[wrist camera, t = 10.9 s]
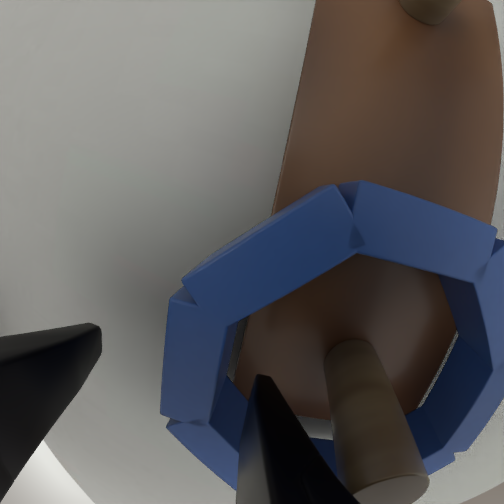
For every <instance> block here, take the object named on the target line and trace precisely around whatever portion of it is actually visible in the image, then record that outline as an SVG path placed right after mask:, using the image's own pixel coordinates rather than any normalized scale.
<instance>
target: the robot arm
mask: <svg viewBox="0 0 504 504" xmlns="http://www.w3.org/2000/svg"><path fill="white" fill-rule="evenodd" d="M101 353H102V332H101V328H100V327H99V326H97V325H94V324H92V323H84V324H78V325H73V326H67V327H61V328H55V329H49V330H43V331H36V332H30V333H24V334H17V335H10V336H3V337H0V502H1V501H2V499H3V498H4V496H5V494H6V493H7V491H8V490H9V488H10V487H11V485H12V484H13V482H14V480H15V479H16V478H17V476H18V475H19V473H20V471H21V470H22V468H23V467H24V466H25V464H26V463H27V461H28V460H29V458H30V457H31V456H32V454H33V453H34V451H35V450H36V448H37V447H38V446H39V444H40V443H41V441H42V440H43V439H44V437H45V436H46V435H47V433H48V432H49V430H50V429H51V428H52V426H53V425H54V424H55V422H56V421H57V419H58V418H59V417H60V415H61V414H62V413H63V411H64V410H65V409H66V407H67V406H68V405H69V403H70V402H71V401H72V400H73V398H74V397H75V396H76V394H77V393H78V392H79V390H80V389H81V387H82V386H83V384H84V382H85V381H86V379H87V377H88V375H89V374H90V372H91V370H92V369H93V367H94V366H95V364H96V362H97V361H98V359H99V357H100V355H101ZM319 454H320V453H319V451H318V450H317V448H316V447H315V445H314V444H313V442H312V441H311V439H310V438H309V436H308V435H307V433H306V431H305V430H304V428H303V427H302V425H301V424H300V422H299V421H298V419H297V417H296V416H295V414H294V413H293V411H292V410H291V408H290V406H289V405H288V403H287V402H286V400H285V398H284V397H283V395H282V394H281V392H280V390H279V389H278V387H277V385H276V384H275V382H274V381H273V379H272V377H270V376H267V375H262V374H257V375H256V377H255V380H254V384H253V387H252V391H251V394H250V398H249V402H248V407H247V412H246V417H245V421H244V426H243V431H242V435H241V440H240V448H239V461H238V476H237V492H236V504H360V503H359V501H358V500H357V499H356V498H355V497H354V496H353V495H352V494H351V493H350V492H349V491H348V490H347V488H346V487H345V486H344V485H343V484H342V483H341V482H340V480H339V479H338V478H337V477H336V475H335V474H334V473H333V471H332V470H331V469H330V467H329V466H328V464H327V463H326V461H325V460H324V458H323V457H322V456H321V455H319Z"/></svg>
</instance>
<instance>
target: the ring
mask: <svg viewBox="0 0 504 504" xmlns="http://www.w3.org/2000/svg"><path fill="white" fill-rule="evenodd" d="M496 234H497V229H496V228H495V227H494V226H491V225H489V224H487V223H484V222H482V221H479V220H477V219H475V218H472V217H470V216H467V215H465V214H462V213H459V212H457V211H454V210H452V209H449V208H446V207H444V206H441V205H438V204H435V203H433V202H430V201H427V200H424V199H421V198H418V197H415V196H412V195H409V194H406V193H403V192H400V191H397V190H394V189H391V188H387V187H384V186H381V185H378V184H374V183H371V182H368V181H364V180H359V181H352V182H345V183H340V184H339V187H338V188H337V186H336V185H335V184H330V185H324V186H319V187H318V188H316V189H314V190H313V191H311V192H309V193H308V194H306V195H305V196H303V197H301V198H300V199H298V200H296V201H295V202H293V203H292V204H290V205H288V206H287V207H285V208H284V209H282V210H280V211H279V212H277V213H276V214H274V215H272V216H271V217H269V218H268V219H266V220H265V221H263V222H261V223H260V224H258V225H257V226H255V227H253V228H252V229H250V230H249V231H247V232H246V233H244V234H242V235H241V236H239V237H238V238H236V239H235V240H233V241H231V242H230V243H228V244H227V245H225V246H224V247H222V248H220V249H219V250H217V251H216V252H214V253H213V254H211V255H210V256H209V257H207V258H206V259H205V260H204V261H202V262H201V263H200V264H199V265H198V266H196V267H195V268H194V269H193V270H191V271H190V272H189V273H188V274H187V275H185V276H184V277H183V278H182V280H181V281H182V283H183V285H184V286H183V287H182V288H181V289H179V290H178V291H177V292H176V293H175V294H174V295H173V296H172V297H171V298H170V299H169V306H168V315H167V325H166V335H165V346H164V357H163V371H162V386H161V404H160V414H161V415H163V416H166V417H169V418H170V420H169V422H168V424H167V426H166V428H167V429H168V430H169V431H170V432H171V433H172V434H173V435H174V436H175V437H176V438H177V439H178V440H179V441H180V442H181V443H182V444H183V445H184V446H185V447H186V448H187V449H188V450H189V451H190V452H191V453H192V454H193V455H195V456H196V457H197V458H198V459H199V460H200V461H201V462H202V463H203V464H205V465H206V466H207V467H208V468H209V469H210V470H211V471H213V472H214V473H215V474H216V475H217V476H219V477H220V478H221V479H222V480H223V481H225V482H226V483H227V484H228V485H230V486H231V487H232V488H233V489H235V490H236V491H237V476H238V461H239V448H240V440H241V435H242V431H243V426H244V421H245V417H246V412H247V407H248V401H247V399H246V398H245V397H244V396H243V395H242V393H241V392H240V391H239V390H238V389H237V387H236V386H235V385H234V384H233V382H232V381H231V380H230V379H229V377H228V376H227V371H228V367H229V362H230V358H231V353H232V348H233V344H234V339H235V335H236V330H237V326H238V321H240V320H242V319H244V318H245V317H247V316H249V315H251V314H253V313H255V312H256V311H258V310H260V309H262V308H264V307H265V306H267V305H269V304H271V303H273V302H274V301H276V300H278V299H280V298H282V297H283V296H285V295H287V294H289V293H290V292H292V291H294V290H296V289H297V288H299V287H301V286H303V285H304V284H306V283H308V282H309V281H311V280H313V279H315V278H316V277H318V276H320V275H321V274H323V273H325V272H326V271H328V270H330V269H331V268H333V267H335V266H336V265H338V264H340V263H341V262H343V261H345V260H346V259H348V258H350V257H351V256H353V255H354V254H356V253H359V254H363V255H367V256H370V257H374V258H378V259H382V260H386V261H390V262H394V263H398V264H402V265H405V266H409V267H413V268H417V269H421V270H424V271H428V272H432V273H436V274H438V276H439V279H440V281H441V284H442V287H443V289H444V292H445V295H446V298H447V300H448V303H449V306H450V309H451V312H452V315H453V318H454V321H455V325H456V328H457V331H458V334H459V335H458V338H457V340H456V342H455V344H454V347H453V349H452V351H451V353H450V355H449V357H448V359H447V361H446V363H445V365H444V367H443V369H442V371H441V373H440V375H439V377H438V379H437V381H436V382H435V384H434V386H433V388H432V390H431V391H430V393H429V395H428V397H427V398H426V400H425V402H424V403H423V405H422V406H421V407H419V408H417V409H415V410H414V411H412V412H410V413H408V414H406V415H405V417H406V420H407V422H408V425H409V427H410V430H411V432H412V435H413V437H414V440H415V442H416V445H417V447H418V450H419V453H420V455H421V458H422V460H423V463H424V466H425V469H426V471H427V474H428V475H430V474H432V473H434V472H436V471H437V470H439V469H441V468H443V467H445V466H446V465H448V464H450V463H452V462H453V461H455V456H454V452H463V451H466V450H467V449H468V448H469V447H470V446H471V444H472V443H473V442H474V440H475V439H476V438H477V436H478V435H479V434H480V432H481V431H482V430H483V428H484V427H485V425H486V424H487V422H488V421H489V420H490V418H491V417H492V415H493V414H494V412H495V411H496V409H497V407H498V406H499V404H500V403H501V401H502V400H503V398H504V241H503V240H500V239H497V238H496ZM309 438H310V439H311V441H312V442H313V444H314V445H315V447H316V448H317V450H318V451H319V453H320V454H319V455H321V456H322V457H323V458H324V460H325V461H326V463H327V464H328V466H329V467H330V469H331V470H332V471H333V473H334V474H335V475H336V477H337V469H336V459H335V449H334V440H327V439H319V438H311V437H309Z"/></svg>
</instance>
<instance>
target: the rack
mask: <svg viewBox="0 0 504 504" xmlns="http://www.w3.org/2000/svg"><path fill="white" fill-rule="evenodd" d="M503 111H504V105H503V76H502V63H501V54H500V45H499V38H498V32H497V26H496V20H495V15H494V11H493V6H492V3H490V2H489V1H487V0H316V3H315V8H314V13H313V18H312V23H311V28H310V33H309V38H308V43H307V48H306V53H305V58H304V63H303V67H302V72H301V77H300V82H299V87H298V92H297V96H296V101H295V106H294V111H293V115H292V120H291V125H290V130H289V134H288V139H287V144H286V148H285V153H284V158H283V162H282V167H281V172H280V176H279V181H278V186H277V190H276V195H275V199H274V204H273V208H272V213H271V216H272V215H274V214H276V213H277V212H279V211H280V210H282V209H284V208H285V207H287V206H288V205H290V204H292V203H293V202H295V201H296V200H298V199H300V198H301V197H303V196H305V195H306V194H308V193H309V192H311V191H313V190H314V189H316V188H318V187H319V186H324V185H330V184H335V185H336V186H337V188H338V187H339V184H340V183H345V182H352V181H359V180H364V181H368V182H371V183H374V184H378V185H381V186H384V187H387V188H391V189H394V190H397V191H400V192H403V193H406V194H409V195H412V196H415V197H418V198H421V199H424V200H427V201H430V202H433V203H435V204H438V205H441V206H444V207H446V208H449V209H452V210H454V211H457V212H459V213H462V214H465V215H467V216H470V217H472V218H475V219H477V220H479V221H482V222H484V223H487V224H489V225H491V220H492V216H493V210H494V205H495V200H496V194H497V187H498V180H499V173H500V164H501V154H502V140H503ZM456 331H457V328H456V325H455V321H454V318H453V315H452V312H451V309H450V306H449V303H448V300H447V298H446V295H445V292H444V289H443V287H442V284H441V281H440V279H439V276H438V274H436V273H432V272H428V271H424V270H421V269H417V268H413V267H409V266H405V265H402V264H398V263H394V262H390V261H386V260H382V259H378V258H374V257H370V256H367V255H363V254H359V253H356V254H354V255H353V256H351V257H350V258H348V259H346V260H345V261H343V262H341V263H340V264H338V265H336V266H335V267H333V268H331V269H330V270H328V271H326V272H325V273H323V274H321V275H320V276H318V277H316V278H315V279H313V280H311V281H309V282H308V283H306V284H304V285H303V286H301V287H299V288H297V289H296V290H294V291H292V292H290V293H289V294H287V295H285V296H283V297H282V298H280V299H278V300H276V301H274V302H273V303H271V304H269V305H267V306H265V307H264V308H262V309H260V310H258V311H256V312H255V313H253V314H251V315H249V316H248V319H247V324H246V328H245V332H244V337H243V341H242V345H241V350H240V354H239V358H238V363H237V367H236V371H235V375H234V380H233V384H234V385H235V386H236V387H237V389H238V390H239V391H240V392H241V393H242V395H243V396H244V397H245V398H246V399H247V401H248V402H249V398H250V394H251V391H252V387H253V384H254V380H255V377H256V375H257V374H262V375H267V376H270V377H272V379H273V381H274V382H275V384H276V385H277V387H278V389H279V390H280V392H281V394H282V395H283V397H284V398H285V400H286V402H287V403H288V405H289V406H290V408H291V410H292V411H293V413H294V414H295V415H298V416H304V417H311V418H317V419H324V420H331V423H332V432H333V440H334V449H335V459H336V469H337V478H338V479H339V480H340V482H341V483H342V484H343V485H344V486H345V487H346V488H347V490H348V491H349V492H350V493H351V494H352V495H353V496H354V497H355V498H356V499H357V500H358V501H359V503H360V504H412V503H413V502H415V501H416V500H417V499H419V498H420V497H421V496H422V495H423V494H424V493H425V492H426V490H427V488H428V486H429V481H430V480H429V477H428V474H427V471H426V469H425V466H424V463H423V460H422V458H421V455H420V453H419V450H418V447H417V445H416V442H415V440H414V437H413V435H412V432H411V430H410V427H409V425H408V422H407V420H406V417H405V415H406V414H408V413H410V412H412V411H414V410H415V409H417V407H418V406H419V404H420V402H421V400H422V399H423V397H424V395H425V394H426V392H427V390H428V388H429V386H430V385H431V383H432V381H433V379H434V377H435V375H436V373H437V371H438V369H439V368H440V366H441V364H442V362H443V359H444V357H445V355H446V353H447V351H448V349H449V347H450V345H451V342H452V340H453V338H454V336H455V333H456Z"/></svg>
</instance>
